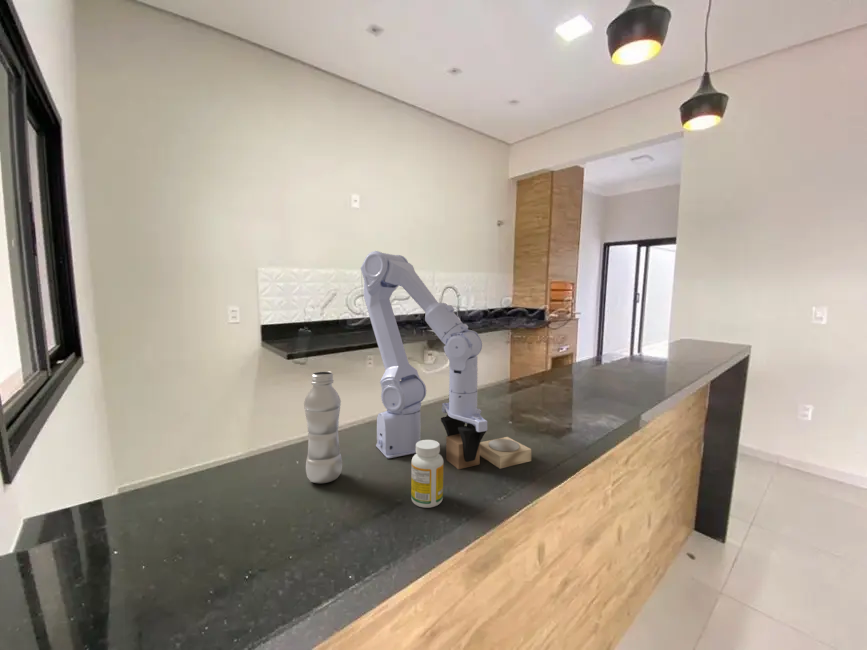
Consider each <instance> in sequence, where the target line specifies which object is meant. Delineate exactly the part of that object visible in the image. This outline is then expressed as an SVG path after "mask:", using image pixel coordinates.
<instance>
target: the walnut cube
mask: <svg viewBox="0 0 867 650" xmlns="http://www.w3.org/2000/svg"><path fill="white" fill-rule="evenodd" d="M445 438H446V439H445V442H446V445H445V447H446V448H445V450H446V451H445V453H446V454H445V455H446V456H445V458H446V459H445V460H446V461H447V462H449V464H451V465H452V466H454V467H455V468H456V469H457V470H461V469H466V468H470V467H474V466H478V465H480V461H481V460H480V457H481V456H480V444H479V447H478V451H477V454H476V458H475V460H473V461H469V462H466V461H465V459H464V454H463V443H462V439H461V436H460V434H457V435H451V436H447V435H446V437H445Z"/></svg>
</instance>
